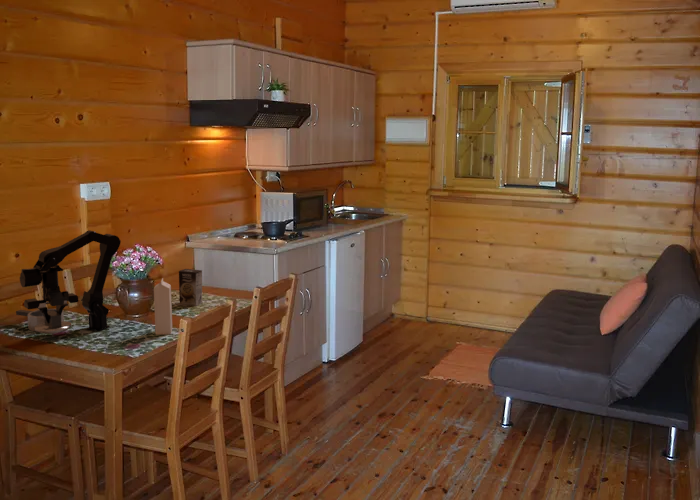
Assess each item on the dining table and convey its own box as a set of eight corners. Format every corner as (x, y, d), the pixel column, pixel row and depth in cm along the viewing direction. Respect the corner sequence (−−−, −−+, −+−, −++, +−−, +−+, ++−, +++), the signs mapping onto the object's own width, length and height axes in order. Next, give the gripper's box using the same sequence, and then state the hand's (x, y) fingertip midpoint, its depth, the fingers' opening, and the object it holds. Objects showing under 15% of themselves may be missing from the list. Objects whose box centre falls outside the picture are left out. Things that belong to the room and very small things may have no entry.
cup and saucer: (76, 330, 263) (75, 313, 262) (41, 337, 254) (39, 319, 253) (65, 323, 273) (64, 307, 272) (30, 329, 264) (29, 312, 263)
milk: (172, 330, 276) (170, 277, 272) (170, 334, 270) (169, 280, 266) (156, 330, 275) (155, 277, 271) (155, 334, 269) (153, 280, 265)
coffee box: (178, 304, 316) (177, 270, 314) (186, 301, 322) (185, 268, 320) (196, 306, 314) (195, 272, 311) (203, 303, 320) (202, 269, 317)
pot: (70, 324, 282) (69, 310, 281) (47, 332, 270) (46, 318, 269) (31, 319, 288) (30, 305, 287) (6, 327, 276) (5, 313, 275)
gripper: (31, 290, 248) (33, 331, 251) (82, 283, 261) (84, 322, 263) (22, 285, 257) (25, 324, 259) (72, 278, 269) (74, 316, 271)
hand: (52, 322), depth 263 cm, fingers closed on cup and saucer, 3 cm apart
